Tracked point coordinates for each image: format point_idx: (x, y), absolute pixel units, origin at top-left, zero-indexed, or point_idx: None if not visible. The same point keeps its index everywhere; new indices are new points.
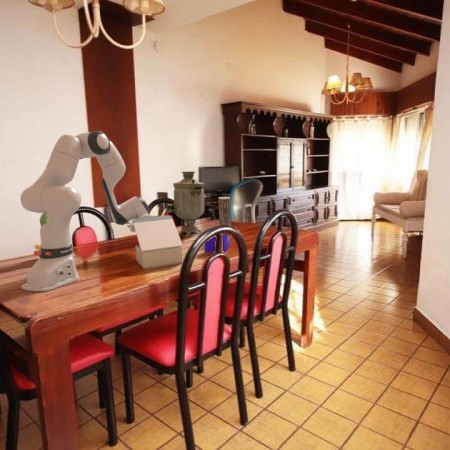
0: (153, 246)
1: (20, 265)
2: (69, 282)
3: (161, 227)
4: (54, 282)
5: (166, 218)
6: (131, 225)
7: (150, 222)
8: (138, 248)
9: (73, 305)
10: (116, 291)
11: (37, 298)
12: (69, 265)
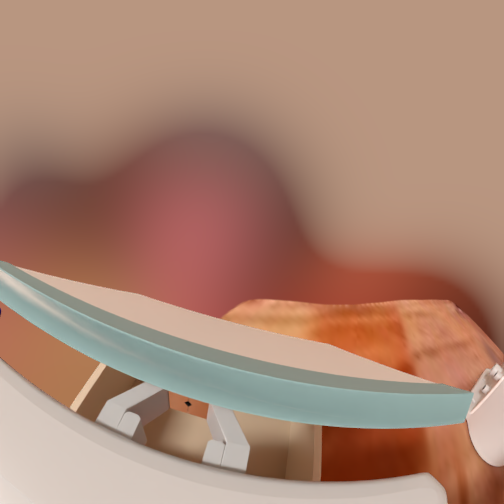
0: (273, 333)
1: None
2: (470, 391)
3: (162, 316)
4: (489, 381)
5: (35, 281)
6: (436, 481)
7: (244, 352)
8: (321, 434)
9: (427, 307)
10: (377, 312)
11: (481, 351)
12: (496, 373)
